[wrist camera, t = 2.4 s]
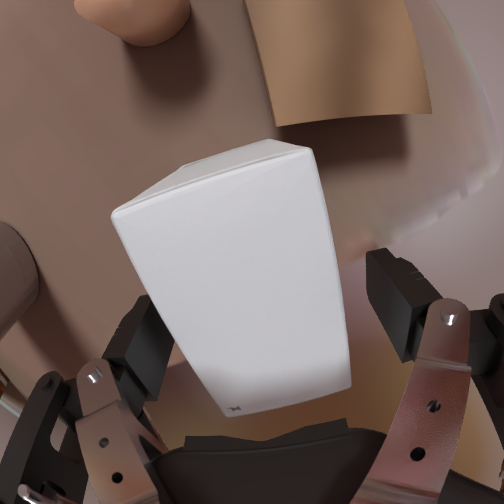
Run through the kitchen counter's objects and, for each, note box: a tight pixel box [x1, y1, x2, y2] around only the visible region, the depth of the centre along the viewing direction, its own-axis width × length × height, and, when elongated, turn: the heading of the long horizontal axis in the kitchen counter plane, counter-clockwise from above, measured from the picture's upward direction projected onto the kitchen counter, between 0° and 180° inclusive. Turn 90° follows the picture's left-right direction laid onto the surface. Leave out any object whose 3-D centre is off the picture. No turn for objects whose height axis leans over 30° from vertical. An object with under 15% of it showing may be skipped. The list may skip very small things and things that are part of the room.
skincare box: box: [111, 139, 351, 417], centre depth 14 cm, size 10×6×10 cm, turn 17°
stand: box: [243, 0, 432, 127], centre depth 11 cm, size 9×12×4 cm
